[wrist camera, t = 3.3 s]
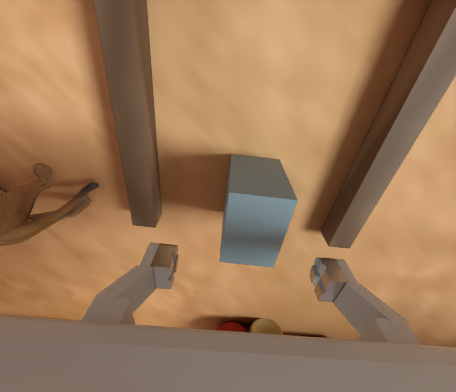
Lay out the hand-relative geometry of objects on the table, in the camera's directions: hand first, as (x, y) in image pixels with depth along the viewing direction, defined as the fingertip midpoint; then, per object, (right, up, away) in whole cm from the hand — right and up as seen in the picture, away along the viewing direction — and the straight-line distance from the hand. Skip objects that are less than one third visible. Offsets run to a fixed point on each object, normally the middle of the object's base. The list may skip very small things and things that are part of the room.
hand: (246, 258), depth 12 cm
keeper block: (+1, +4, +6) cm, 8 cm away
